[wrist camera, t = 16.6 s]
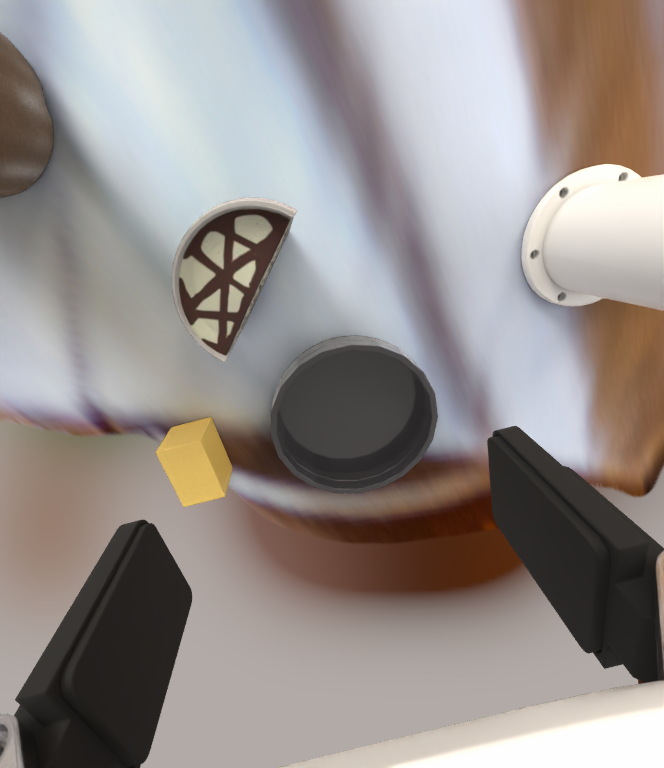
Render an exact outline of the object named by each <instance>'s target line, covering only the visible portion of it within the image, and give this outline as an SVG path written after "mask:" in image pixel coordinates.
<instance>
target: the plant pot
mask: <svg viewBox="0 0 664 768" xmlns="http://www.w3.org/2000/svg"><path fill="white" fill-rule="evenodd" d="M52 147H53V123H52V119H51V117H50V115H49V112H48V110H47V107H46V103H45V99H44V95H43V89H42V86H41V84H40V82H39V80H38V78H37V76H36V74H35V73H34V71H33V69H32V68H31V66H30V65H29V63H28V62H27V60H26V59H25V58H24V57H23V56H22V54H21V53H20V52H19V51H18V49H17V48H16V47H15V46H14V45H13V44H12V43H11V42H10V41H9V40H8V39H7V38H6V37H5V36H4V35H3V34H2V33H1V32H0V197H4V196H10V195H15V194H17V193H20V192H22V191H24V190H26V189H27V188H29V187H30V186H31V185H33V184H34V183H35V182H36V181H37V180H38V179H39V177H40V176H41V175H42V173H43V171H44V170H45V168H46V166H47V164H48V161H49V159H50V156H51V152H52Z"/></svg>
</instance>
